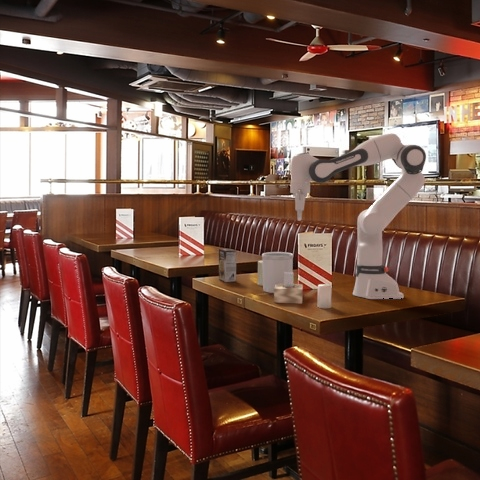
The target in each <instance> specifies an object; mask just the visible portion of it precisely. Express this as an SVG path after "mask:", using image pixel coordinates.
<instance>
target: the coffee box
mask: <svg viewBox="0 0 480 480" xmlns="http://www.w3.org/2000/svg"><path fill="white" fill-rule="evenodd" d="M218 280H221V281H222V282H225V283H231V282H232V283H233V282H236V281H237V250H235V249H233V248H218Z"/></svg>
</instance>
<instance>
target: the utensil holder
mask: <svg viewBox="0 0 480 480" xmlns="http://www.w3.org/2000/svg"><path fill="white" fill-rule="evenodd" d="M261 258H262V259H261V260H262V264H263V286H262V289H263V290H262V291H263V292H264V293H265V292H266V293H269V294H274V287H275V284H276V283H279V284H284V272H293V271H294V270H293V266H294V265H293V264H294V263H293V261H294V259H293V258H294V253H291V252H286V251H284V252H283V251H270V252H269V251H267V252H263V253H262V254H261Z"/></svg>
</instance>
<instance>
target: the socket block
mask: <svg viewBox="0 0 480 480" xmlns="http://www.w3.org/2000/svg"><path fill="white" fill-rule="evenodd" d="M303 287H304V286H303V284H302V283H293V288H289V287H284V284H279V283H276V284H275V287H274V293H273V303H280V304H281V303H284V304H303V289H304V288H303Z"/></svg>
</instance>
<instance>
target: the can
mask: <svg viewBox="0 0 480 480" xmlns="http://www.w3.org/2000/svg"><path fill="white" fill-rule="evenodd" d="M256 285H258V286H262V287H263V264H262V259H261V260H258V261H257V284H256Z"/></svg>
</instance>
